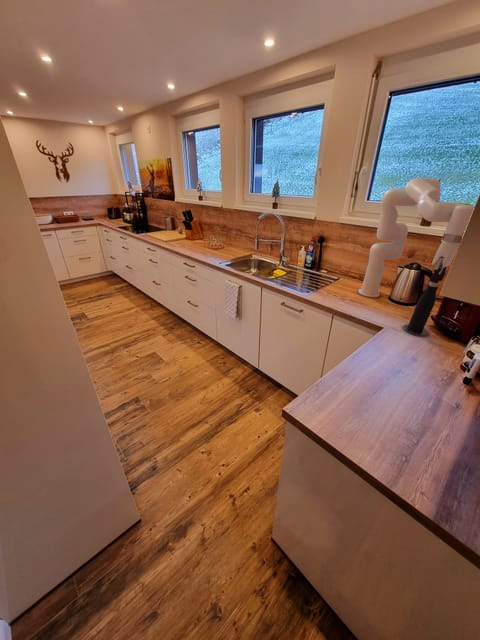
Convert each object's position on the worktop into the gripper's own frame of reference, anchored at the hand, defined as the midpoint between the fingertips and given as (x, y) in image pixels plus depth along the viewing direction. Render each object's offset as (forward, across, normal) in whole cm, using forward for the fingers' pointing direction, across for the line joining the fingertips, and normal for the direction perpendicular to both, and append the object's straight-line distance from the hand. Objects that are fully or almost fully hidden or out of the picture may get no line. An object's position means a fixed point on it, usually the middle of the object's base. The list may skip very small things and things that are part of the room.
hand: (435, 280), depth 115 cm
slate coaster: (+26, 0, 0) cm, 26 cm away
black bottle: (+25, 0, 0) cm, 25 cm away
